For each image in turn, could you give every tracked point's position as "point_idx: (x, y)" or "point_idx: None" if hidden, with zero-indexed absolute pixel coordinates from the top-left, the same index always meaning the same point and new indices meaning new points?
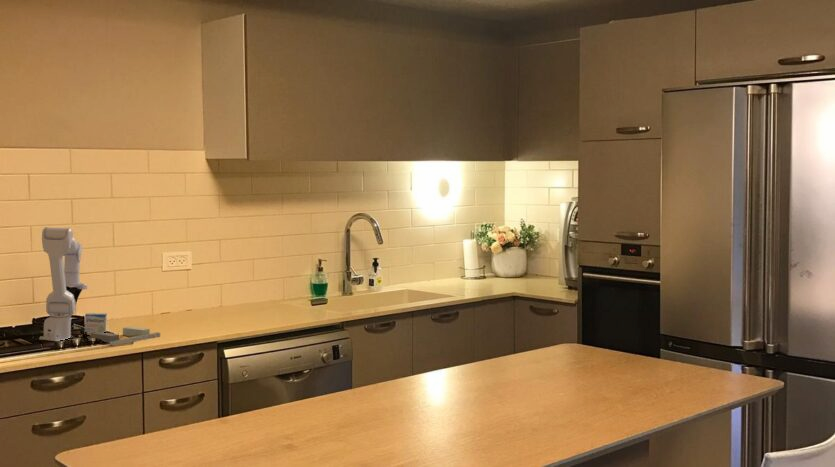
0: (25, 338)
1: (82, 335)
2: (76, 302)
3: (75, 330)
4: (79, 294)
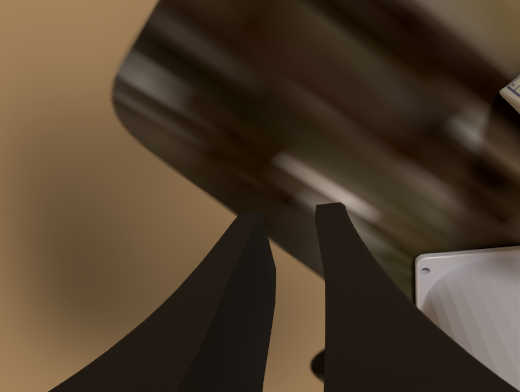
0: (320, 369)
1: (510, 135)
2: (353, 228)
3: (263, 28)
4: (445, 336)
